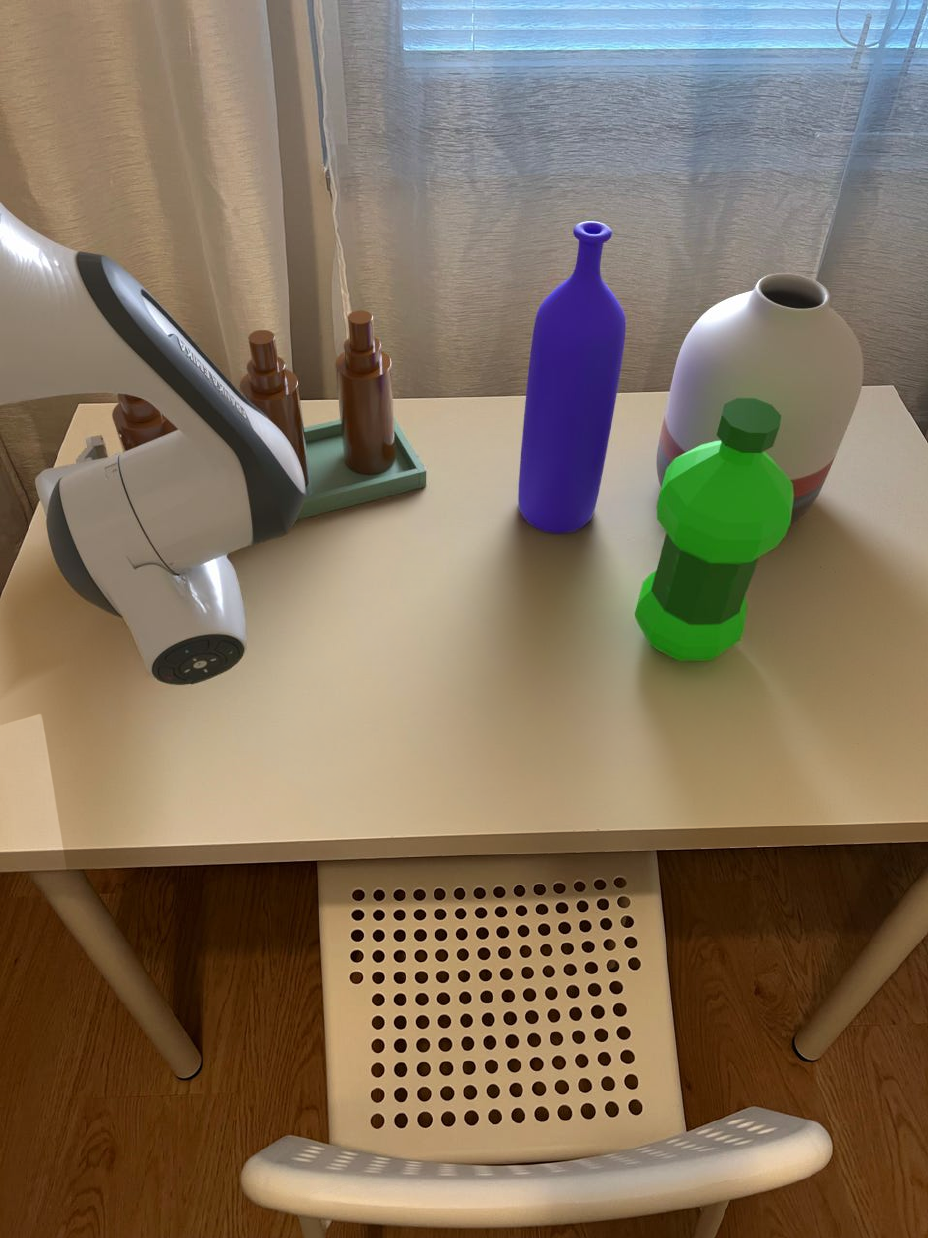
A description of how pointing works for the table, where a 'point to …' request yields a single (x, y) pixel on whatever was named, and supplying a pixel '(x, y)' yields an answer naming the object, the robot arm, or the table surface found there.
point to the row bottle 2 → (365, 399)
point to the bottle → (571, 393)
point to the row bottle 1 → (275, 393)
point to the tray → (345, 487)
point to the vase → (769, 378)
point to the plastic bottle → (715, 534)
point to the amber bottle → (138, 422)
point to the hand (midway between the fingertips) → (147, 432)
